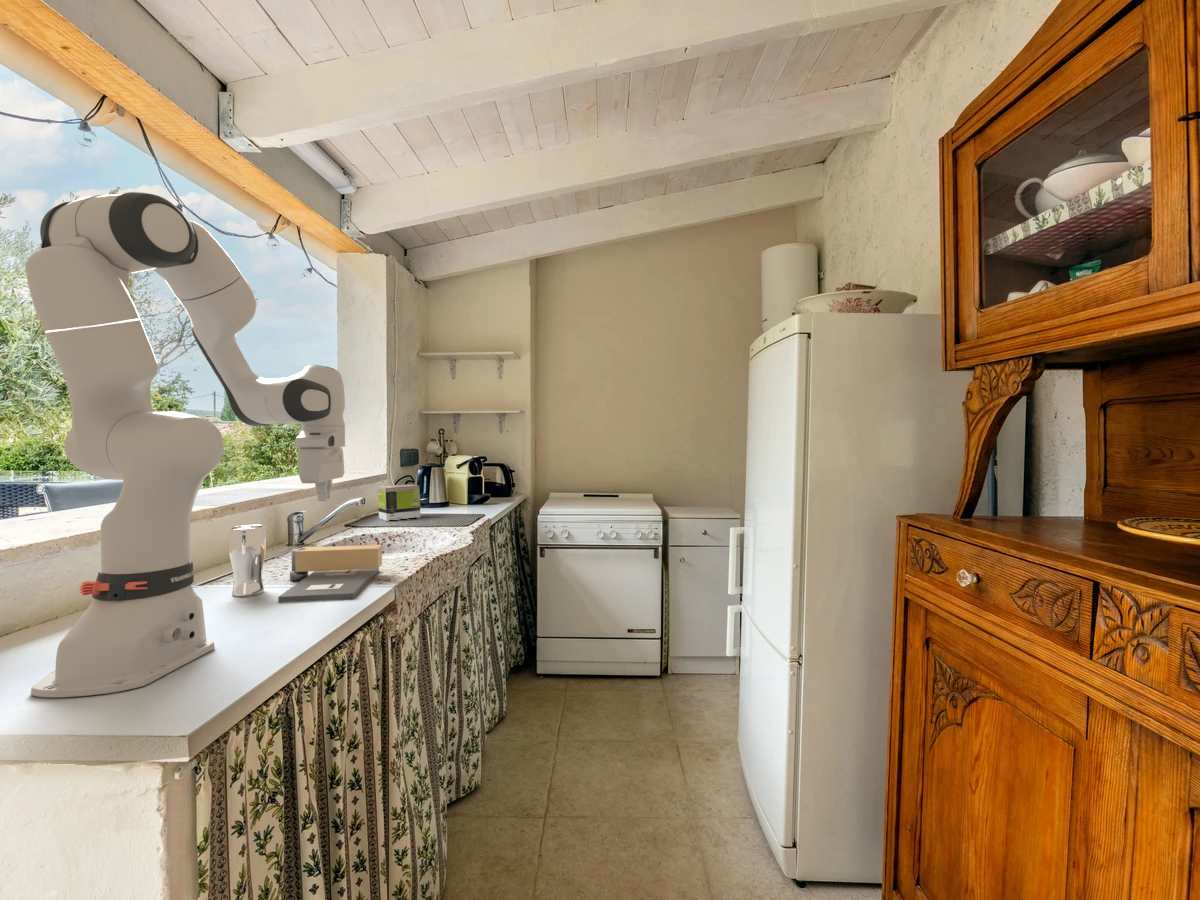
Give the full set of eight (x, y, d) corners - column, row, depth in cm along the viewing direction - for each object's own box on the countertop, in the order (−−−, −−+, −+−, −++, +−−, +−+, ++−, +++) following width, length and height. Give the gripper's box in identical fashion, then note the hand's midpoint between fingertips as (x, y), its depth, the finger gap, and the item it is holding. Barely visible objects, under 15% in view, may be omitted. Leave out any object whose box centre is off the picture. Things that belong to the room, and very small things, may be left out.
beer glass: (248, 598, 120) (247, 529, 120) (221, 596, 122) (220, 528, 122) (273, 589, 127) (272, 525, 127) (247, 588, 129) (247, 524, 128)
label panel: (353, 598, 120) (353, 591, 120) (278, 602, 117) (278, 595, 117) (378, 570, 146) (378, 565, 146) (317, 573, 143) (317, 567, 143)
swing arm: (377, 568, 138) (377, 548, 137) (288, 572, 134) (288, 551, 134) (382, 564, 142) (381, 544, 142) (295, 567, 139) (295, 547, 139)
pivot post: (305, 581, 135) (305, 573, 135) (287, 581, 134) (287, 573, 134) (310, 577, 139) (310, 569, 139) (293, 577, 138) (293, 570, 138)
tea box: (412, 516, 250) (411, 483, 249) (420, 518, 242) (420, 485, 242) (378, 519, 240) (377, 485, 240) (385, 522, 232) (385, 487, 232)
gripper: (322, 439, 134) (323, 496, 134) (291, 439, 114) (292, 506, 114) (350, 439, 135) (351, 495, 135) (324, 439, 115) (325, 505, 115)
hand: (324, 500), depth 124 cm, fingers closed
